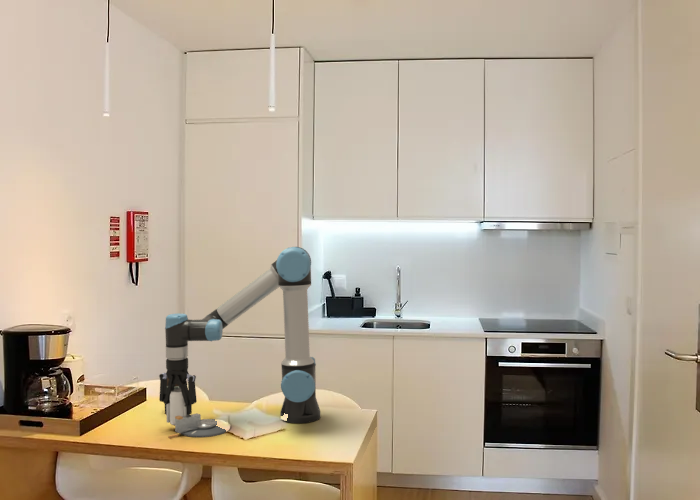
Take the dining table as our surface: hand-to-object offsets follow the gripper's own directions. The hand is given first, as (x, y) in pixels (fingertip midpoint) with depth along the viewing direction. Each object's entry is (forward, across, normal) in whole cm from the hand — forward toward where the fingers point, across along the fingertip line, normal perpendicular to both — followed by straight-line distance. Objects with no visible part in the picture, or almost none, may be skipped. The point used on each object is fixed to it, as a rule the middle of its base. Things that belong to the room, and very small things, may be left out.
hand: (178, 422), depth 221 cm
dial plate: (+3, -8, -4) cm, 10 cm away
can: (+1, 0, -1) cm, 1 cm away
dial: (+2, -7, -1) cm, 7 cm away
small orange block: (+3, -3, +7) cm, 8 cm away
